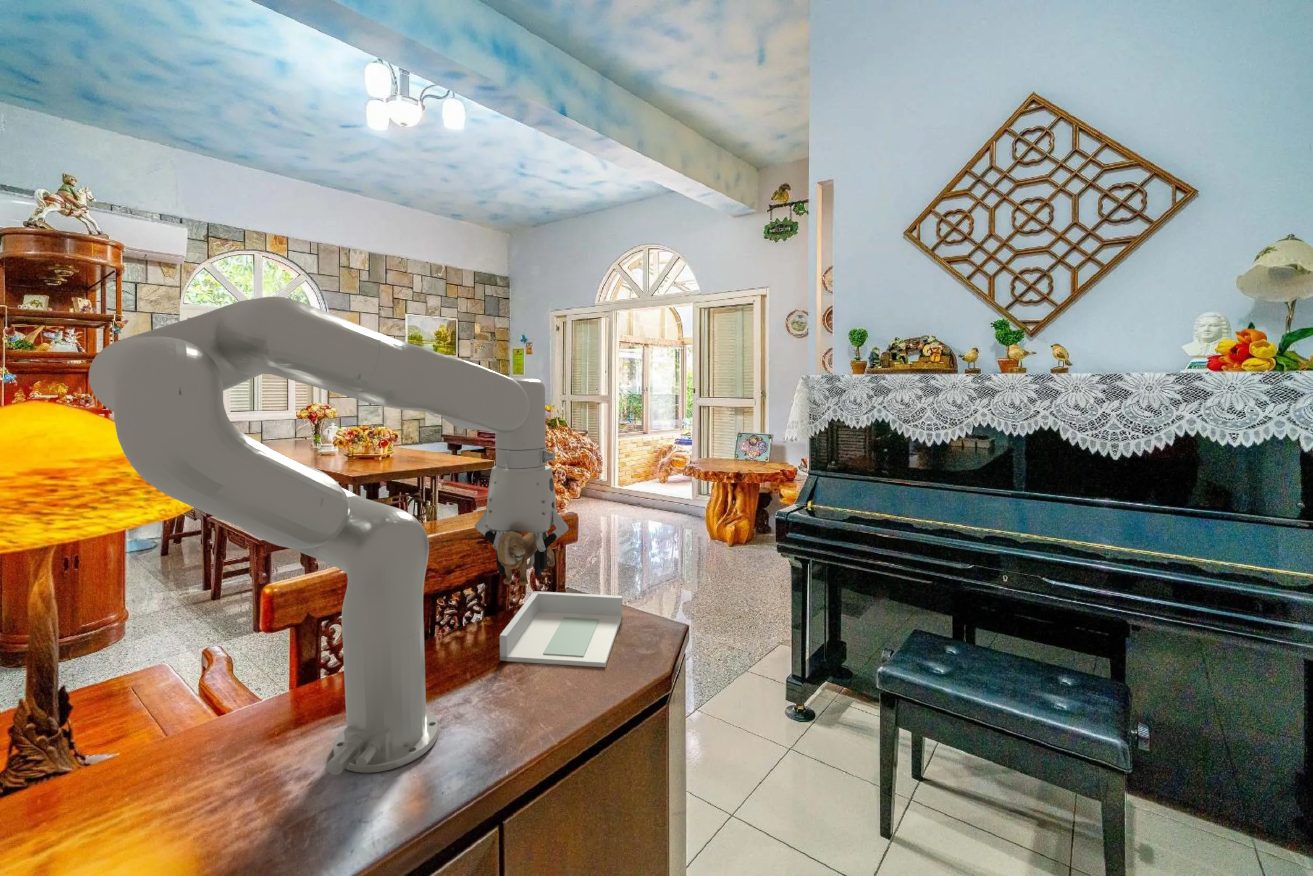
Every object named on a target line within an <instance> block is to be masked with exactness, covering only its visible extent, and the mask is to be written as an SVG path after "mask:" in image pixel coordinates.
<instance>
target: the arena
mask: <svg viewBox="0 0 1313 876" xmlns="http://www.w3.org/2000/svg"><path fill="white" fill-rule="evenodd" d="M620 605H622V606H620ZM622 620H623V595H613V594H612V595H611V594H610V595H609V594H595V593H594V594H593V593H592V594H591V593H575V592H574V593H573V592H559V591H558V592H557V591H555V592H553V591H540V590H539V591H538V590H537V591H533V592H532V593H531V594H530V596H529V597H528V598H527V599H526V600H525V602H524V603H523V604H522V606H521V607H520V609H519V610H518V611H517V612H516V614H515V615H514V616H513V618H511V620H510V622H509V623H508V624H507V625H506V626H505V628H504V629H503V630H502V632H501V633H500V634H499V661H501V662H512V663H513V662H517V663H533V664H547V665H561V666H564V665H566V666H576V667H577V666H579V667H596V668H606V666H607V663H608V660H609V657H610V654H611V651H612V649H613V647H614V643H615V640H616V637H617V634H618V631H619V627H620V625H621V623H622Z"/></svg>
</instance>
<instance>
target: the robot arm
mask: <svg viewBox="0 0 1313 876" xmlns="http://www.w3.org/2000/svg"><path fill="white" fill-rule="evenodd" d="M263 374H264V375H272V376H274V377H275V376H276V377H279V378H284V379H287V380H290V381H295V382H297V383H300V384H304V385H307V386H310V387H315V388H318V389H320V390H321V389H322V390H324V391H328V392H331V393H333V394H338V395H342V396H345V397H348V398H352V399H354V400H358V401H360V402H361V401H362V402H364V403H369V404H372V405H376V406H381V407H386V408H390V409H395V410H402V411H403V410H404V411H412V412H413V411H414V412H421V413H426V414H427V413H428V414H433V415H438V416H441V417H442V418H443V419H444V420H445V421H446V422H447V423H448V424H450V425H452V426H454V427H457V428H460V429H465V430H473V431H482V432H489V433H495V435H494V436H495V438H494V439H495V440H494V441H495V445H494V446H495V465H493V467H491V471H490V475H489V476H490V477H489V482H488V487H487V488H488V490H487V500H486V510H485V512H484V513H483V514H482V516H481V517H480V518H479V519H478V520H477V522H476V523H475V524H474V528H475V530H477V531H478V532H479V533H481V534H482V535H483V536H484V537H485V538H486V539H487V541H489V542H490V543H491V545H492V546H493V549H495V550H496V554H495V555H496V558H495V559H496V568H499V570H498V571H499V575H500V576H503V575H506V573H505V568H504V566H502V565H501V563H500V562H499V560H498V555H497V546H498V545H497V542H498V541H499V538H500V536H501V535H503V534H504V533H506V532H509V531H514V532H516V533H520V534H522V533H524V534H528V533H533V534H534V538H535V541H536V544H537V549H536V551H535V553H534V564H533V566H534V568H533V569H534V571H533V572H534V573H533V575H534V576H535V577H541V575H542V574H543V573H544V571H545V570H547V568H548V558H547V548H548V547H549V546H550V547H551V545H552V544H553V543H554V542H555V541H556V540H558V538H561V536H563V535H564V534H566V533H567V532H568V530H569V526H568V524H567V523H566V522H565V520H564V519H563V518H562V517H561V515H560V514H559V513H558V512H557V499H556V488H555V482H554V481H555V480H554V474H553V469H552V466H550V465H549V466H548V465H546V464H548V463H549V462H555V458H556V454H555V452H554V451H553V452H552V451H549V450H548V447H547V446H546V441H547V439H546V438H547V437H546V388H545V387H546V386H545V384H544V383H543V381H541V380H540V379H537V378H526V377H525V378H524V377H521V378H520V377H508V376H506V375H504V374H502V373H498V372H496V371H494V370H491V369H489V368H486V367H484V366H481V365H479V364H476V363H473V362H471V361H467V360H465V359H461V358H458V357H455V356H450V355H448V354H444V353H441V352H437V351H434V350H432V349H428V348H426V347H423V346H419V345H417V344H413V343H411V342H407V341H403V340H399V339H397V338H395V337H392V336H388V335H386V334H385V333H384V334H383V333H381V332H378V331H377V330H376V331H375V330H373V329H370V328H367V327H365V326H363V325H360V324H357V323H355V322H353V321H350V320H349V319H346V318H343V317H340V316H338V315H335V314H332V313H331V312H327V311H325V310H322V309H321V308H317V307H315V306H313V305H310V304H307V303H304V302H301V301H299V300H295V299H292V298H289V297H285V296H265V297H258V298H252V299H244V300H241V301H236V302H233V303H231V304H228V305H227V304H226V305H224V306H222V307H219V308H216V309H214V310H211V311H207V312H204V313H202V314H199V315H196V316H192V317H189V318H186V319H183V320H180V321H175V322H174V323H173V322H172V323H170V324H167V325H164V326H161V327H158V328H154V329H152V330H148V331H144V332H141V333H138V334H135V335H132V336H128V337H125V338H122V339H119V340H115V341H114V342H112V343H110V344H109V345H107V346H105V347H104V348H102V349H101V350H100V351H99V352H98V353H97V354H96V356H95V357H94V358H93V360H92V362H91V363H90V367H89V370H88V382H89V386H90V390H91V392H92V393H93V395H94V396H95V398H96V399H97V400H98V401H99V402H100V403H101V405H102V406H104V407H105V408H106V409H108V410H109V411H111V412H112V413H113V416H114V425H115V426H114V427H115V432H116V436H117V439H118V443H119V446H120V447H121V449H122V451H123V452H122V453H123V454H124V455H125V457H126V459H127V461H128V462H129V464H130V466H132V468H133V469H134V471H135V472H136V473H137V474H138V475H139V476H140V477H141V478H142V479H143V480H144V481H145V482H146V483H147V484H149V485H151V486H152V487H153V488H155V489H157V490H158V491H159V492H161V493H162V494H165V495H167V496H168V497H170V498H173V499H175V500H176V501H179V502H181V503H183V504H186V505H188V506H189V507H193V508H194V509H197V510H200V511H202V512H204V513H206V514H209V515H211V516H213V517H215V518H217V519H220V520H222V521H224V522H227V523H229V524H232V525H234V526H236V527H240V528H241V529H242V530H243V531H245V532H247V533H249V534H251V535H253V536H255V537H257V538H259V539H261V540H263V541H265V542H267V543H269V544H272V545H274V546H279V547H283V548H288V549H290V550H294V551H295V552H297V553H300V554H303V555H306V556H309V557H311V558H314V559H316V560H319V561H321V562H324V563H326V564H328V565H330V566H333V567H335V568H336V569H338V570H341V571H342V572H343V573H346V576H347V584H346V591H345V594H344V597H343V602H342V607H341V608H342V609H341V638H342V652H343V653H342V654H343V656H342V657H343V671H344V672H343V678H344V701H345V702H344V703H345V722H346V727H345V728H344V729H343V730H342V731H341V732H340V733H339V735H337V736H336V739H335V740H334V743H333V749H332V750H333V756H332V758H331V759H330V760H329V761H328V762H327V763H326V770H327V771H328V773H329V774H331V775H333V776H338V775H340V774H341V773H342V772H343V771H344V770H348V771H349V772H350V771H351V772H355V773H363V774H365V773H366V774H369V773H379V772H385V771H389V770H390V771H391V770H393V769H397V768H400V767H402V766H406V765H407V764H410V763H412V762H413V761H416V760H417V759H418V758H420V757H422V756H423V755H424V754H426V753H427V752H428V751H429V750H430V749H431V748H432V747H433V746H434V744H435V743H436V741H437V739H438V738H439V734H440V733H439V731H440V729H439V725H440V724H439V721H438V719H437V717H436V716H435V715H434V714H433V713H432V712H430V711H428V710H427V702H426V701H427V700H426V699H427V698H426V697H427V695H426V659H425V657H426V655H425V622H424V590H425V589H424V586H425V577H426V573H427V566H428V560H429V555H430V554H429V553H430V542H429V537H428V533H427V531H426V529H425V527H424V526H423V524H422V523H421V522H420V521H419V520H418V519H417V518H416V517H415V516H414V515H412V514H411V513H409V512H407V511H406V510H403V509H401V508H398V507H395V506H391V505H388V504H385V503H382V502H377V501H375V500H371V499H368V498H365V497H363V496H360V495H359V494H358V495H357V494H356V493H353V492H351V491H350V490H348V489H345V488H343V487H342V486H341V485H340V484H339V483H338V482H337V481H336V480H335V479H334V478H332V477H331V476H330V475H329V474H327V473H326V472H323V471H322V470H319V468H316V467H312V466H309V465H308V464H307V465H306V464H303V463H301V462H299V461H297V460H294V459H292V458H291V457H288V456H287V455H284V454H282V453H280V452H279V451H276V450H275V449H272V448H271V447H268V446H267V445H265V444H264V443H262V442H261V441H258V440H257V439H255V438H253V437H251V436H250V435H247V434H246V433H244V432H242V431H241V430H239V428H237V427H236V426H235V425H234V424H233V423H232V422H231V420H230V418H229V416H228V415H227V412H226V409H225V404H224V391H227V390H228V389H231V388H234V387H235V386H238V385H241V384H243V383H245V382H248V381H250V380H251V379H253V378H256V377H259V376H261V375H263ZM552 526H554V527H555V529H554V530H553V531H552V532H550V534H548V531H549V530H550V529H551V527H552Z"/></svg>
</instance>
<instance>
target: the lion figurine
mask: <svg viewBox="0 0 1313 876" xmlns="http://www.w3.org/2000/svg"><path fill="white" fill-rule="evenodd" d="M497 545H498V546H497V555H498V560H499V562H500V563H501V565H502V566H504V568H505V575H506V578H504V579H503V584H504V585H509V584H510V583H512V580H513V573H512V570H515V569H517V568H518V567H519V570H520V575H519V584H520V585H521V586H524V585H528V583H529V581H528V575H527V570H530V569H532V568H533V566H534V553H535V551H536V550H537V544H536V541H535V538H534V534H533V533H526V534H525V535H524V536H523V534H522V533H520V532H514V531H509V532H506V533H504V534H503V535H501V536H500V538H499V541H498V542H497ZM548 558H549V561H547V567H554V566H555V564H556V561H555V553H554V551H553V550H552V549H551V545H550V546H549V547H548V548H547V559H548ZM528 560H529V562H528Z"/></svg>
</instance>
